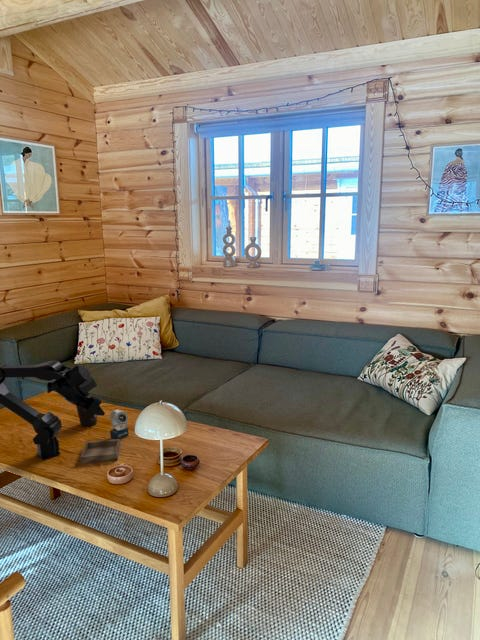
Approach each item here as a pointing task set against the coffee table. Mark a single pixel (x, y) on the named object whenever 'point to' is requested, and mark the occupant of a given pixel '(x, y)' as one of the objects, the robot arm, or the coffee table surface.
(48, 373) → the robot arm
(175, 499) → the coffee table surface
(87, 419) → the coffee mug
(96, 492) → the coffee table surface
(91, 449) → the valet tray
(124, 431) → the watch
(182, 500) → the coffee table surface
